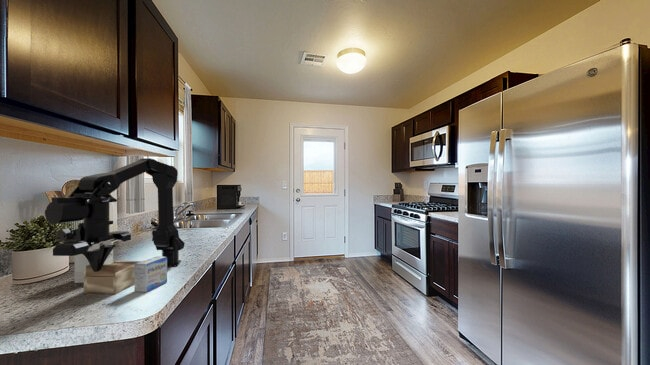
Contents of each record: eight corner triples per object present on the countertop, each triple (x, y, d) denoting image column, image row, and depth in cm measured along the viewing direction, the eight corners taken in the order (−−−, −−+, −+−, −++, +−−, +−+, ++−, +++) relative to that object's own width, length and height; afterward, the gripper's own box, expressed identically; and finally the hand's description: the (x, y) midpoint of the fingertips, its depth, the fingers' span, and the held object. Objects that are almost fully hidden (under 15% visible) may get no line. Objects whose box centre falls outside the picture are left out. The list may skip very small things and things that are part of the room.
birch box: (115, 279, 85) (115, 261, 85) (144, 279, 85) (144, 261, 85) (83, 293, 74) (83, 272, 74) (116, 293, 74) (116, 273, 74)
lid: (114, 265, 84) (114, 256, 84) (139, 265, 84) (139, 256, 84) (85, 276, 74) (85, 265, 74) (114, 276, 74) (114, 265, 74)
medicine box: (146, 292, 75) (146, 264, 75) (133, 291, 76) (133, 263, 76) (167, 282, 83) (167, 256, 83) (156, 281, 83) (156, 255, 83)
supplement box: (99, 281, 83) (99, 244, 83) (73, 283, 82) (73, 245, 82) (114, 273, 90) (114, 239, 90) (90, 275, 89) (90, 239, 89)
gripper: (99, 214, 83) (99, 261, 83) (31, 223, 64) (31, 284, 64) (132, 214, 82) (132, 261, 82) (74, 223, 64) (73, 284, 64)
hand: (96, 271), depth 73 cm, fingers closed
